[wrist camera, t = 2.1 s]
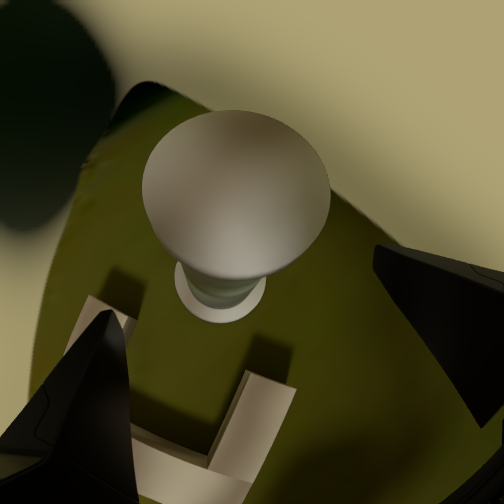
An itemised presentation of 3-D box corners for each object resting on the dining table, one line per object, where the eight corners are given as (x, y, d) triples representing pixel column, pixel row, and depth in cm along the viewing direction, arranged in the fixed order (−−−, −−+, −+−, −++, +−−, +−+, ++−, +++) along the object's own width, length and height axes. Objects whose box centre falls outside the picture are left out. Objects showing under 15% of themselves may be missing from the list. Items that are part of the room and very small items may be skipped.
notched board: (286, 384, 19) (296, 389, 16) (227, 507, 15) (229, 524, 12) (102, 301, 18) (89, 294, 16) (54, 426, 15) (38, 433, 12)
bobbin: (274, 259, 21) (356, 149, 9) (243, 337, 19) (303, 322, 7) (199, 226, 21) (195, 85, 9) (162, 300, 19) (92, 226, 7)
